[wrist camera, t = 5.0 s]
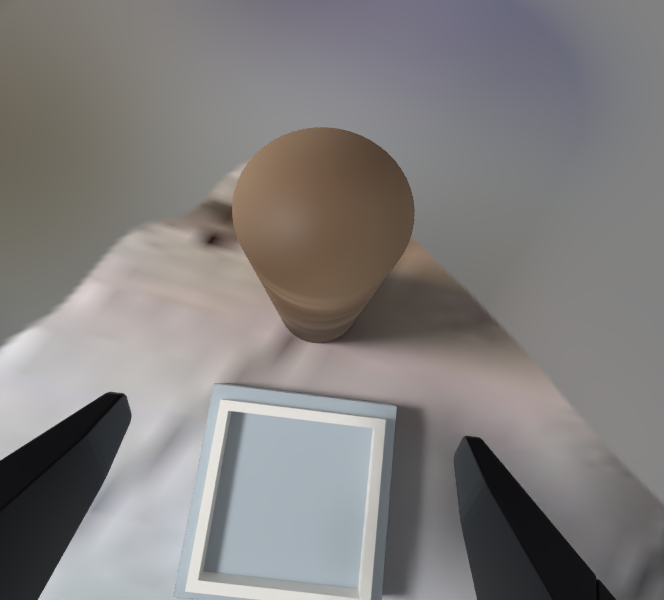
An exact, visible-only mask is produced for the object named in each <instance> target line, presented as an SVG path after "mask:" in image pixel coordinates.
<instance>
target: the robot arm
mask: <svg viewBox="0 0 664 600" xmlns="http://www.w3.org/2000/svg"><path fill="white" fill-rule="evenodd" d="M130 421H131V410H130V407H129V403H128V400H127V396H126V395H125V394H123V393H116V392H108V393H105V394H104V395H102V396H101V397H99V398H97V399H96V400H94V401H93V402H91V403H90V404H88V405H87V406H85V407H83V408H82V409H80V410H79V411H77V412H76V413H74V414H72V415H71V416H69V417H68V418H66V419H65V420H63V421H61V422H60V423H58V424H57V425H55V426H54V427H52V428H51V429H49V430H47V431H46V432H44V433H43V434H41V435H40V436H38V437H36V438H35V439H33V440H32V441H30V442H29V443H27V444H25V445H24V446H22V447H21V448H19V449H18V450H16V451H15V452H13V453H11V454H10V455H8V456H7V457H5V458H4V459H2V460H0V600H38V598H39V597H40V595H41V593H42V591H43V590H44V588H45V586H46V584H47V582H48V581H49V579H50V577H51V575H52V573H53V572H54V570H55V568H56V566H57V565H58V563H59V561H60V559H61V557H62V556H63V554H64V552H65V550H66V549H67V547H68V545H69V543H70V541H71V540H72V538H73V536H74V534H75V533H76V531H77V529H78V527H79V525H80V524H81V522H82V520H83V518H84V517H85V515H86V513H87V511H88V509H89V508H90V506H91V504H92V502H93V501H94V499H95V497H96V495H97V493H98V492H99V490H100V488H101V486H102V484H103V482H104V480H105V478H106V476H107V474H108V472H109V470H110V468H111V465H112V463H113V461H114V458H115V456H116V454H117V452H118V449H119V447H120V445H121V442H122V440H123V438H124V435H125V433H126V431H127V429H128V426H129V424H130ZM454 468H455V477H456V486H457V495H458V504H459V513H460V520H461V526H462V531H463V536H464V540H465V545H466V550H467V554H468V559H469V564H470V568H471V573H472V577H473V582H474V587H475V591H476V596H477V600H616V599H615V598H614V597H613V595H612V594H611V593H610V592H609V591H608V589H607V588H606V587H605V586H604V585H603V583H602V582H601V581H600V580H598V579H596V575H595V574H594V573H593V572H592V570H591V569H590V568H589V567H588V566H587V565H586V563H585V562H584V561H583V560H582V559H581V557H580V556H579V555H578V554H577V553H576V551H575V550H574V549H573V548H572V547H571V545H570V544H569V543H568V542H567V541H566V539H565V538H564V537H563V536H562V535H561V533H560V532H559V531H558V530H557V529H556V527H555V526H554V525H553V524H552V523H551V521H550V520H549V519H548V518H547V517H546V515H545V514H544V513H543V512H542V511H541V509H540V508H539V507H538V506H537V505H536V503H535V502H534V501H533V500H532V499H531V497H530V496H529V495H528V494H527V493H526V491H525V490H524V489H523V488H522V487H521V485H520V484H519V483H518V482H517V481H516V479H515V478H514V477H513V476H512V475H511V473H510V472H509V471H508V470H507V469H506V468H505V466H504V465H503V464H502V463H501V462H500V460H499V459H498V458H497V457H496V456H495V454H494V453H493V452H492V451H491V450H490V448H489V447H488V446H487V445H486V444H485V442H484V441H483V440H482V439H481V438H479V437H473V436H465V437H463V439H462V440H461V442H460V444H459V446H458V448H457V450H456V452H455V455H454Z"/></svg>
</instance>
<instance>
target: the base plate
mask: <svg viewBox="0 0 664 600" xmlns="http://www.w3.org/2000/svg"><path fill="white" fill-rule="evenodd" d="M396 410H397V406H395V405H392V404H388V403H380V402H372V401H364V400H356V399H347V398H339V397H331V396H323V395H315V394H307V393H299V392H291V391H283V390H275V389H267V388H259V387H251V386H243V385H235V384H227V383H215V384H213V390H212V395H211V400H210V405H209V411H208V416H207V421H206V426H205V432H204V437H203V442H202V448H201V453H200V458H199V463H198V469H197V474H196V479H195V484H194V490H193V495H192V500H191V505H190V511H189V516H188V521H187V526H186V532H185V537H184V542H183V547H182V553H181V558H180V563H179V569H178V574H177V579H176V584H175V590H174V595H173V597H178V598H187V599H196V600H382V588H383V575H384V563H385V550H386V537H387V525H388V512H389V499H390V486H391V474H392V461H393V448H394V436H395V423H396Z"/></svg>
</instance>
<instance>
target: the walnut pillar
mask: <svg viewBox="0 0 664 600" xmlns="http://www.w3.org/2000/svg"><path fill="white" fill-rule="evenodd" d="M232 216H233V223H234V228H235V232H236V235H237V238H238V240H239V243H240V245H241V247H242V249H243V251H244V252H245V254H246V256H247V258H248V260H249V261H250V263H251V265H252V267H253V269H254V270H255V272H256V274H257V276H258V277H259V279H260V281H261V283H262V285H263V286H264V288H265V290H266V292H267V294H268V295H269V297H270V299H271V301H272V303H273V304H274V306H275V308H276V310H277V311H278V313H279V315H280V317H281V319H282V320H283V322H284V324H285V325H286V327H287V328H288V329H289V331H291V332H292V333H293V334H294V335H295V336H297V337H298V338H300V339H302V340H305V341H307V342H312V343H325V342H330V341H333V340H335V339H337V338H339V337H341V336H342V335H344V334H345V333H346V332H347V331H348V330H349V329H350V327H351V326H352V325H353V323H354V322H355V320H356V319H357V318H358V316H359V315H360V313H361V312H362V311H363V309H364V308H365V306H366V305H367V304H368V302H369V301H370V299H371V298H372V297H373V295H374V294H375V292H376V291H377V290H378V288H379V287H380V285H381V284H382V283H383V281H384V280H385V279H386V277H387V276H388V274H389V273H390V272H391V270H392V269H393V267H394V266H395V265H396V263H397V262H398V260H399V259H400V257H401V256H402V254H403V253H404V251H405V249H406V247H407V245H408V243H409V240H410V237H411V234H412V230H413V225H414V201H413V196H412V192H411V189H410V186H409V184H408V181H407V179H406V177H405V175H404V173H403V172H402V170H401V168H400V167H399V166H398V164H397V163H396V161H395V160H394V159H393V158H392V157H391V156H390V155H389V154H388V153H387V152H386V151H385V150H383V149H382V148H381V147H379V146H378V145H377V144H375V143H374V142H372V141H371V140H369V139H367V138H365V137H363V136H361V135H358V134H355V133H352V132H350V131H346V130H341V129H335V128H308V129H302V130H298V131H294V132H291V133H288V134H286V135H283V136H281V137H279V138H277V139H275V140H273V141H272V142H270V143H269V144H267V145H266V146H264V147H263V148H262V149H261V150H260V151H259V152H257V153H256V154H255V155H254V156H253V158H252V159H251V160H250V161H249V162H248V164H247V165H246V167H245V168H244V170H243V171H242V173H241V175H240V178H239V180H238V182H237V185H236V188H235V191H234V197H233V203H232Z"/></svg>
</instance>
